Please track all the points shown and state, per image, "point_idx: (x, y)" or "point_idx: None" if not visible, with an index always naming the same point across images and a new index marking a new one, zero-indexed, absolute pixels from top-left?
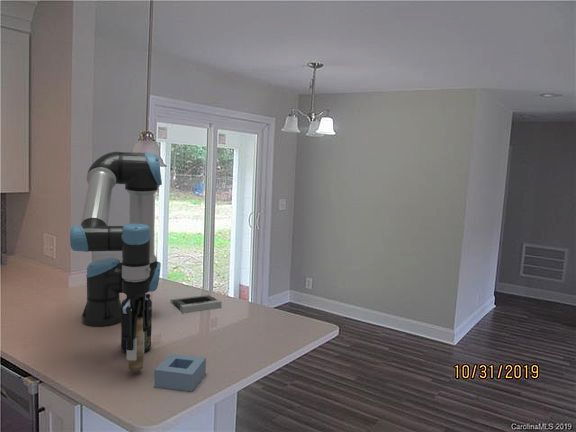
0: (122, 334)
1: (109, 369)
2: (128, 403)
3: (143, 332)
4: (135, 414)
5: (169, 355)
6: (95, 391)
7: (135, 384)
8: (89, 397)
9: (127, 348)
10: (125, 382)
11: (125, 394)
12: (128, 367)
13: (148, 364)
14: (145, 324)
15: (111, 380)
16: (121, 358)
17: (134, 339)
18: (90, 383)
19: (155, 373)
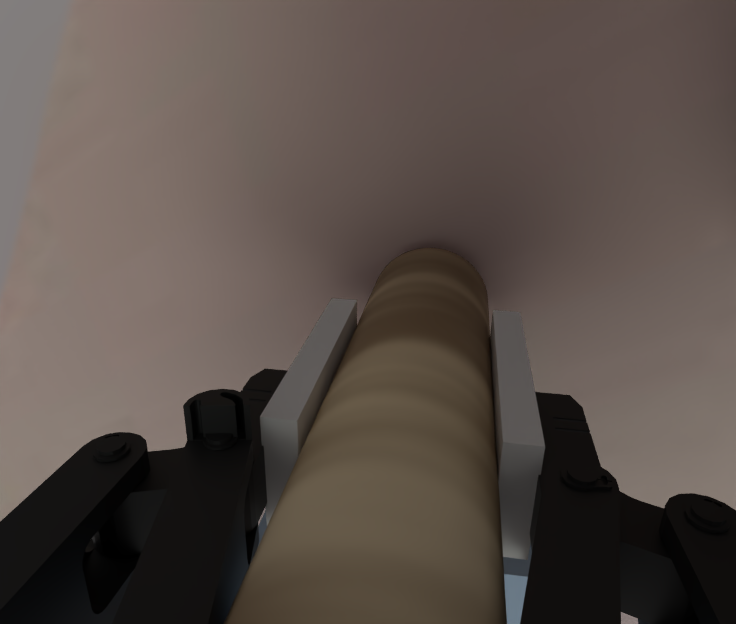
0: (48, 489)
1: (465, 36)
2: (81, 391)
3: (503, 554)
4: (13, 458)
5: (517, 578)
6: (116, 130)
7: (284, 346)
8: (40, 134)
9: (251, 386)
10: (291, 272)
11: (155, 337)
12: (392, 263)
13: (608, 318)
14: (644, 621)
15: (290, 159)
16: (722, 22)
17: (266, 509)
18: (200, 18)
19: (259, 529)
